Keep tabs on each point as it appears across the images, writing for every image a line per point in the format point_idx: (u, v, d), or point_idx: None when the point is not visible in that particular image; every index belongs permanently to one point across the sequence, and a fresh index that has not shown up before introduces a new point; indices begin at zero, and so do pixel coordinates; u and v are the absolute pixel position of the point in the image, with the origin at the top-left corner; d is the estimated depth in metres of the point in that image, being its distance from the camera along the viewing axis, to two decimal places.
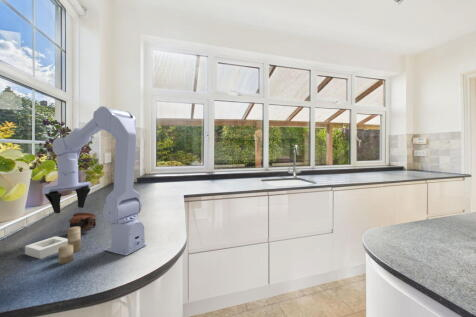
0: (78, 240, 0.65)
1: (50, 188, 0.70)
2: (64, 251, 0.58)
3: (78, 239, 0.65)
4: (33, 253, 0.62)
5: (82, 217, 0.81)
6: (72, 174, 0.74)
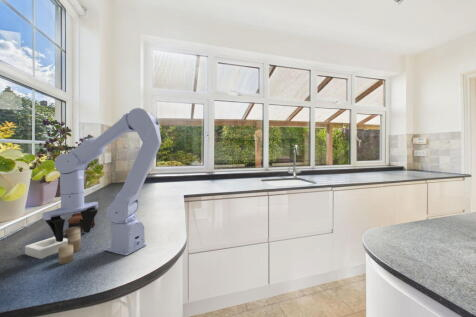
0: (78, 240, 0.65)
1: (52, 213, 0.60)
2: (64, 251, 0.58)
3: (78, 239, 0.65)
4: (33, 253, 0.62)
5: (81, 217, 0.81)
6: (77, 195, 0.64)
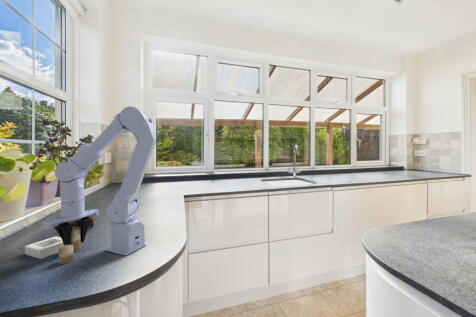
0: (78, 240, 0.65)
1: (52, 222, 0.60)
2: (64, 251, 0.58)
3: (78, 239, 0.65)
4: (33, 253, 0.62)
5: None
6: (78, 203, 0.64)
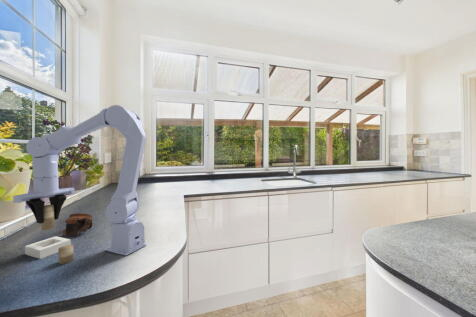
0: (51, 217, 0.65)
1: (23, 196, 0.59)
2: (64, 251, 0.58)
3: (51, 216, 0.65)
4: (33, 253, 0.62)
5: (79, 218, 0.80)
6: (50, 179, 0.64)
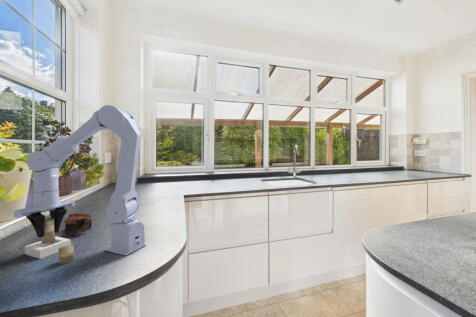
0: (52, 231, 0.65)
1: (23, 211, 0.60)
2: (64, 251, 0.58)
3: (52, 230, 0.65)
4: (33, 253, 0.62)
5: (78, 218, 0.80)
6: (51, 193, 0.64)
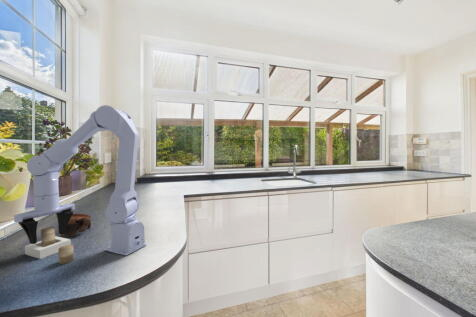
0: (52, 240, 0.65)
1: (24, 215, 0.60)
2: (64, 251, 0.58)
3: (52, 239, 0.66)
4: (33, 253, 0.62)
5: (77, 218, 0.80)
6: (51, 197, 0.64)
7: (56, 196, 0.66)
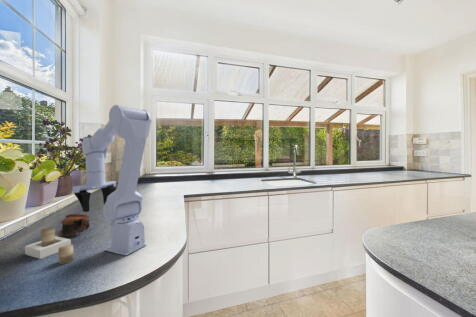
0: (52, 240, 0.65)
1: (80, 187, 0.71)
2: (64, 251, 0.58)
3: (52, 239, 0.66)
4: (33, 253, 0.62)
5: (75, 218, 0.79)
6: (100, 173, 0.76)
7: (103, 173, 0.77)
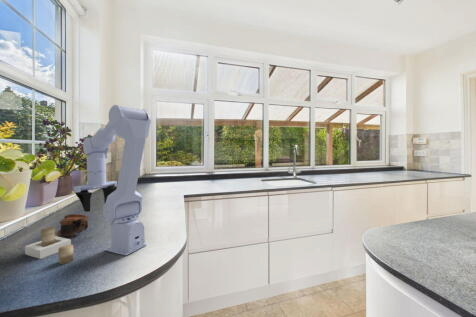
0: (52, 240, 0.65)
1: (81, 187, 0.71)
2: (64, 251, 0.58)
3: (52, 239, 0.66)
4: (33, 253, 0.62)
5: (74, 219, 0.79)
6: (101, 173, 0.76)
7: (104, 173, 0.77)
